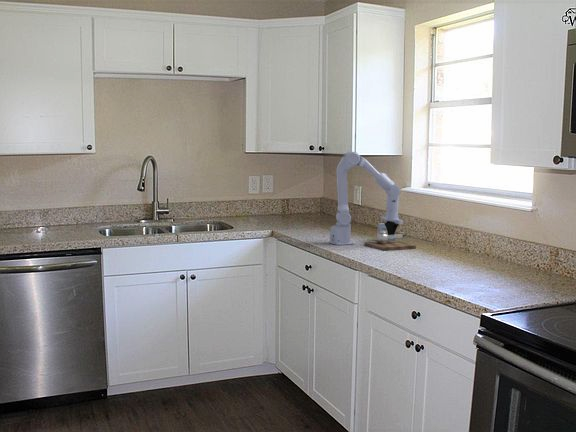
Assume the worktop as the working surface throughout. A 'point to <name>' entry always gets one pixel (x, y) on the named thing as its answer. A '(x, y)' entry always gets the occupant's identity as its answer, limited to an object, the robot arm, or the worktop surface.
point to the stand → (390, 245)
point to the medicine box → (383, 228)
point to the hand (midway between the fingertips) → (391, 237)
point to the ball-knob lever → (383, 237)
